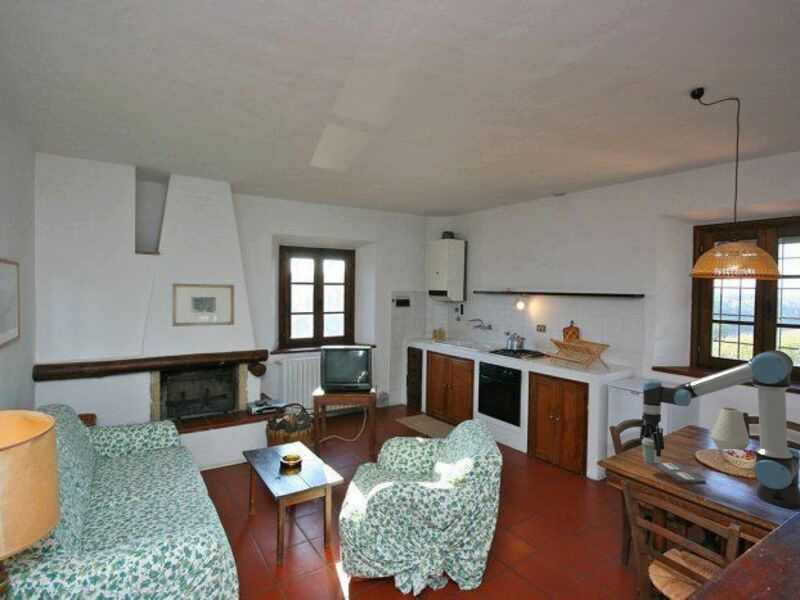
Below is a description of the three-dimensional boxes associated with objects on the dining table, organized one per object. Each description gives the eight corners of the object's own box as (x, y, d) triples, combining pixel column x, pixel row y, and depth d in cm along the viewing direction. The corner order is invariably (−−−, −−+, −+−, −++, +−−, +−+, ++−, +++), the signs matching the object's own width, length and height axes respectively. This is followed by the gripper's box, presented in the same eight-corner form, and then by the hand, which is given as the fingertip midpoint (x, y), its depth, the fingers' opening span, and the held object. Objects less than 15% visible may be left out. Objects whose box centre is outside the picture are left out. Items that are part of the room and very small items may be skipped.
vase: (747, 459, 233) (749, 416, 232) (707, 450, 245) (709, 409, 244) (751, 450, 246) (753, 409, 245) (713, 442, 258) (715, 403, 257)
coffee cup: (664, 468, 211) (664, 443, 210) (644, 466, 212) (645, 442, 212) (657, 461, 219) (658, 437, 219) (639, 460, 221) (639, 436, 220)
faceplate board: (705, 483, 205) (705, 479, 205) (678, 483, 205) (678, 480, 205) (677, 465, 225) (677, 462, 225) (652, 465, 225) (652, 462, 224)
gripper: (673, 419, 205) (673, 467, 205) (646, 406, 226) (646, 450, 226) (657, 419, 204) (657, 467, 205) (632, 406, 226) (631, 450, 226)
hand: (651, 458), depth 216 cm, fingers closed on coffee cup, 8 cm apart
